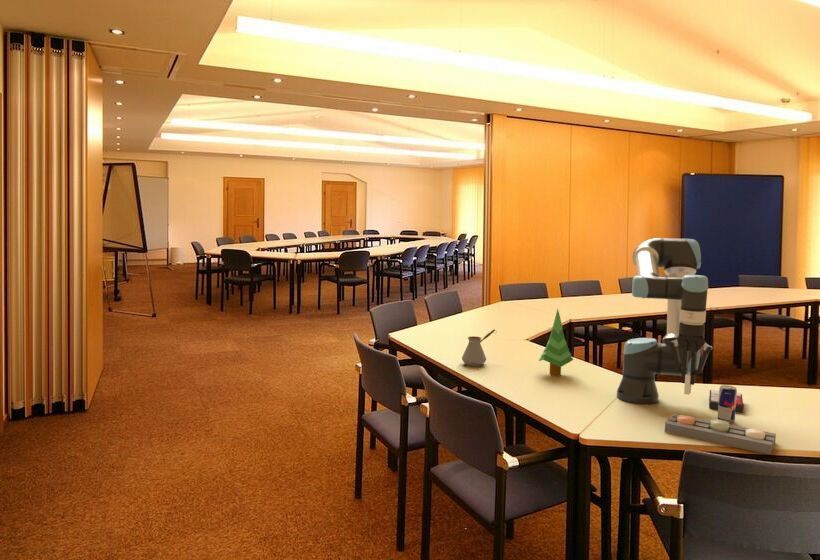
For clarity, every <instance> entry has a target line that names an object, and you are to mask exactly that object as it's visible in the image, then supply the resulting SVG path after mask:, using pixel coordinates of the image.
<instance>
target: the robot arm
mask: <svg viewBox="0 0 820 560" xmlns="http://www.w3.org/2000/svg"><path fill="white" fill-rule="evenodd" d="M701 259H702V254H701V247H700V244H699V242H698V241H697V240H696V239H693V238H671V237H670V238H667V237H666V238H665V237H664V238H663V237H662V238H661V237H654V238H649V239H647V240H645V241H643V242H640V244H638V245H637V246H636V247H635V248H634V250H633V251H632V263H633V264H634V266H635V267H636V268H635V269H636V275H634V276H633V278H632V282H631V283H632V285H631V286H632V287H631V295H632V296H633V297H634V298H640V299H658V300H667V308H666V309H667V311H666V313H667V314H666V315H667V316H666V335H665V336H663V338H662V343H658V341H657V339H656V338H653V337H652V338H650V337H637V338H631V339H628V340H626V341H625V343H624V346H623V365H622V378H621V380H620V382H619V385H618V387H617V389H616V397H617V398H618V399H619V400H621V401H624V402H626V403H627V402H628V403H633V404H638V405H651V404H652V405H653V404H656V403H658V402H659V395H660V394H659V392H658V388H657V384H656V379H655V378H656V374H657V375H669V376H670V375H671V376H680V377H681V383H682V384H684V387H683V388H684V391H683V394H684V395H688V396H690V394H691V393H692V386H694V385H695V383H696V375H701V374H702V373H703V370H704V367H705V364H706V361H707V359H708V356H709V354H710V352H711V351H712V350H713V349H714V348H713V346H712V345H709V344H708V343H707V342H706V338H705V332H706V329H705V328H706V325H705V323H706V321H707V320H706V319H707V318H706V317H707V302H708V292H709V291H708V290H709V279H708V277H707V276H706V275H701V274H700V275H699V274H696V273H697V270H699V269H700V268H701V264H702V260H701ZM659 268H663V272H664V274H665V275H666V276H660V271H659ZM702 347H703V352H702V356H701V348H702Z"/></svg>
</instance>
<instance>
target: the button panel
mask: <svg viewBox="0 0 820 560" xmlns="http://www.w3.org/2000/svg"><path fill="white" fill-rule="evenodd" d="M679 415H680V414H677V413H673V415H672V416H671V417H669V418H668V420H666V421H665V422H664V433H668V434H671V435H672V434H673V435H678V436H682V437H686V438H692V439H695V440H700V441H705V442H710V443H714V444H719V445H724V446H729V447H733V448H738V449H742V450H746V451H751V452H752V451H753V452H756V453H760V454H766V455H772V453H773V450H774V446H775V444H776V439H777V433H774V432H769V431H764V430H763V431H764V432H765V440H760V439H755V438H750V437H745V434H746V429H751V428H749V427H743V426H738V425H733V424H729V430H728V433H726V432H721V431H716V430H711V429H710V424H711V420H708V419H704V418H697V417H693V416H692V417H693V418H695V423H694V426H692V425H687V424H682V423H677V416H679Z"/></svg>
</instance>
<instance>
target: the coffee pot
mask: <svg viewBox="0 0 820 560" xmlns="http://www.w3.org/2000/svg"><path fill="white" fill-rule="evenodd" d="M497 332H498V331H497V330H496V329H492V330H491V331H490V332H489V333H487V334H486V335H485V336H484V337H483V338H482V337H480V336H468V337H467V339H468V343H467V346H466V348H465V350H464V352H463V354H462V357H461V360H462V362H463V363H465V365H466V366H468V367H482V366H483V364H485V363H486V361H487V356H486V355H485V352H484V349H483V347H482V344H481V343H482V342H483V341H484V340H486V339H488V337H490V336H491V335H492V334H494V333H495V334H497ZM481 365H482V366H481Z"/></svg>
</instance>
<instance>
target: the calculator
mask: <svg viewBox="0 0 820 560" xmlns="http://www.w3.org/2000/svg"><path fill="white" fill-rule="evenodd" d="M708 397H709V398H708V400H709V402H708V408H709V410H716V411H718V402H719V389H710V390H709V396H708ZM737 412H738V414H739V413H740V414H743V413H744V399H743V394H742V393H741V392H737V397H736V411H735V413H737Z"/></svg>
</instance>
